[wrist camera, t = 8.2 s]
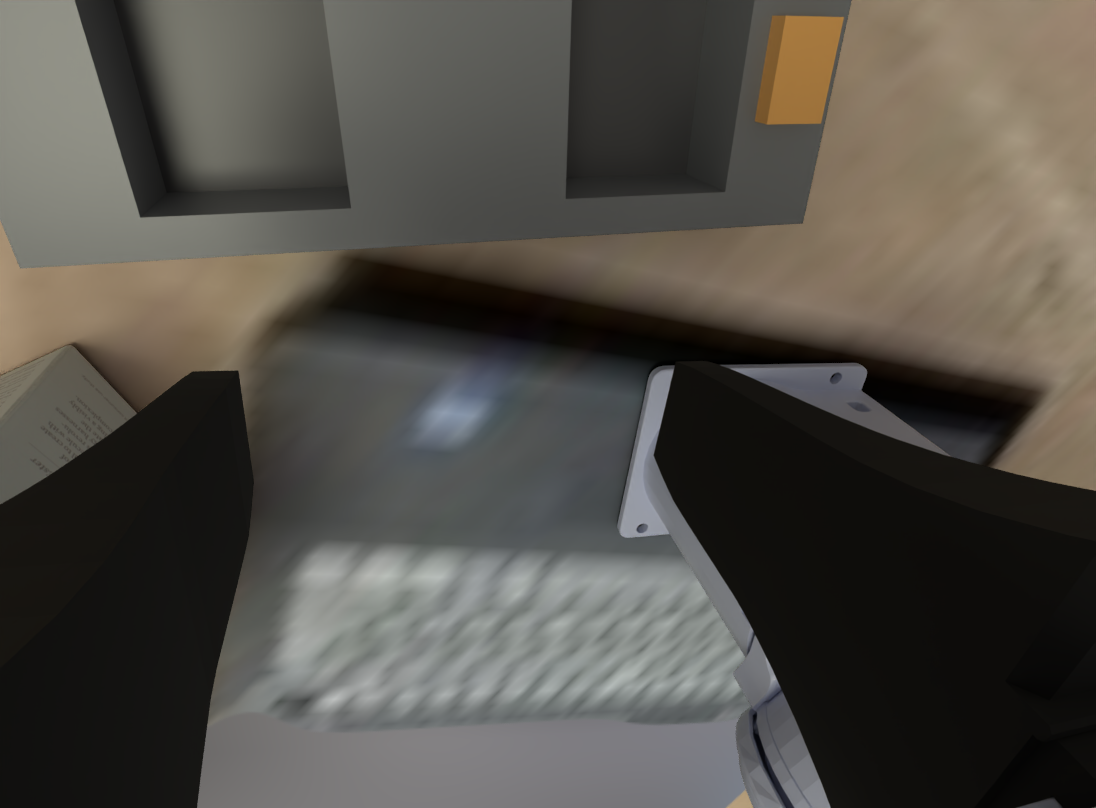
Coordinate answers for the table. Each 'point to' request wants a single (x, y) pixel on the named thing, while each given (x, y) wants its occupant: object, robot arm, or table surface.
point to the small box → (52, 417)
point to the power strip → (401, 121)
